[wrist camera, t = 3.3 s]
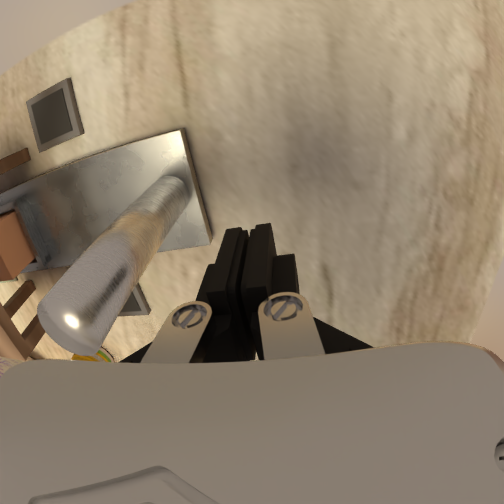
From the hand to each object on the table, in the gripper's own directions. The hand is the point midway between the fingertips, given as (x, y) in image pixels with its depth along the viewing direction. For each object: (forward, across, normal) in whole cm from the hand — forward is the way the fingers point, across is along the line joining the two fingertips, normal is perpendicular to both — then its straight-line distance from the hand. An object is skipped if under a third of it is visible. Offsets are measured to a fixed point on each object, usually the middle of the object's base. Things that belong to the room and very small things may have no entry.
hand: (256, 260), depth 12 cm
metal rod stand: (+12, +17, 0) cm, 21 cm away
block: (+11, +25, 0) cm, 27 cm away
